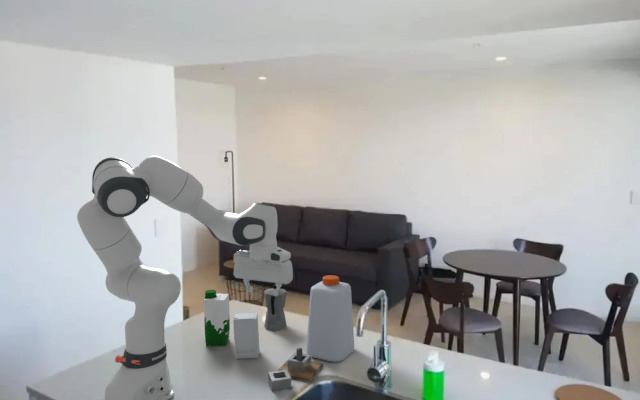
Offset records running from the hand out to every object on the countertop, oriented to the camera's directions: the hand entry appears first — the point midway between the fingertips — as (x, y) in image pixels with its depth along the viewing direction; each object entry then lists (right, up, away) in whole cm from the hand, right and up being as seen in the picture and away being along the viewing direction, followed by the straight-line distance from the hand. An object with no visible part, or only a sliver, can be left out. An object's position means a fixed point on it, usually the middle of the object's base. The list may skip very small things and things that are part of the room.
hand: (262, 294), depth 160 cm
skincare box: (-7, -25, +14) cm, 29 cm away
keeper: (+12, -26, +2) cm, 29 cm away
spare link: (+6, -27, -8) cm, 29 cm away
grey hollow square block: (+12, -25, +2) cm, 28 cm away
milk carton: (-20, -23, +25) cm, 40 cm away
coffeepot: (+1, -22, +40) cm, 45 cm away
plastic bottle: (+23, -25, +16) cm, 37 cm away
